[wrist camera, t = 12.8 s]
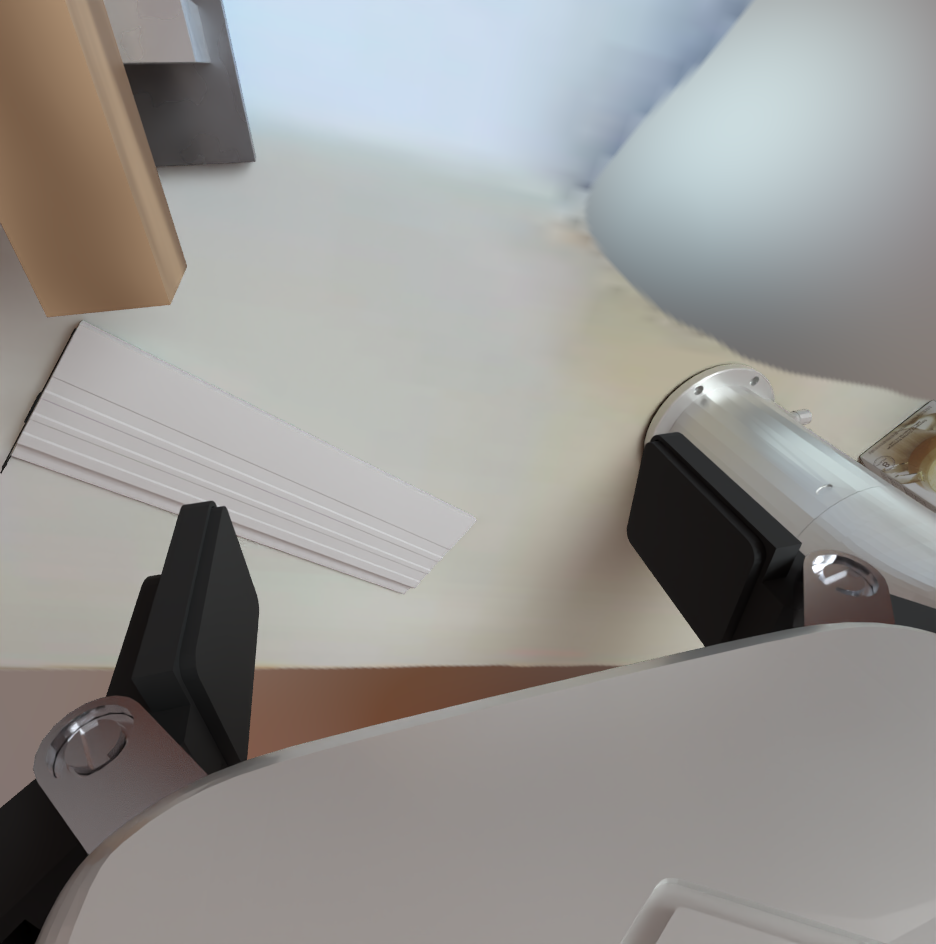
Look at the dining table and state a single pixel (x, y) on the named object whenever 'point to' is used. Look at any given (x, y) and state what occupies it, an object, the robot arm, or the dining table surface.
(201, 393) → the baseboard molding
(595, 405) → the dining table surface
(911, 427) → the coffee box
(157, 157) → the ridge stand
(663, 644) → the dining table surface
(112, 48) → the tan long block
